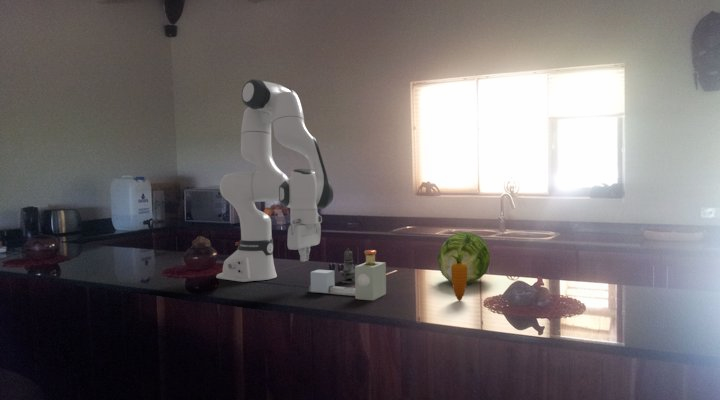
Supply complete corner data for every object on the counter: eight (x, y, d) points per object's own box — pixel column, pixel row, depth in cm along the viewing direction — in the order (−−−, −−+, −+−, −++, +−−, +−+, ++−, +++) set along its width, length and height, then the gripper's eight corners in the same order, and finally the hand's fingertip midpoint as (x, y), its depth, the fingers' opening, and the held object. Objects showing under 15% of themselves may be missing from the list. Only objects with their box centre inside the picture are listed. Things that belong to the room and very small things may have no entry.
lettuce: (425, 288, 197) (432, 240, 193) (442, 266, 218) (449, 222, 214) (477, 302, 191) (486, 252, 187) (490, 278, 213) (498, 232, 208)
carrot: (464, 303, 174) (463, 252, 173) (448, 301, 176) (448, 251, 176) (470, 300, 178) (470, 250, 177) (454, 298, 181) (454, 249, 180)
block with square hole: (354, 299, 181) (354, 266, 181) (368, 292, 191) (368, 261, 190) (372, 300, 179) (372, 267, 178) (386, 293, 188) (385, 262, 188)
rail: (308, 291, 193) (308, 285, 193) (312, 290, 195) (312, 284, 195) (360, 296, 185) (360, 290, 185) (363, 294, 187) (363, 288, 187)
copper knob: (362, 269, 184) (362, 251, 183) (367, 267, 187) (367, 249, 187) (373, 270, 182) (373, 252, 182) (378, 268, 185) (378, 250, 185)
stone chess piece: (355, 283, 206) (354, 249, 205) (338, 283, 207) (338, 248, 206) (358, 280, 212) (358, 246, 211) (342, 279, 213) (341, 246, 212)
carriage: (310, 291, 191) (310, 272, 191) (318, 288, 196) (318, 269, 195) (327, 292, 189) (327, 273, 188) (334, 289, 193) (334, 270, 193)
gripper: (300, 220, 183) (301, 265, 183) (323, 217, 202) (324, 257, 203) (281, 220, 185) (282, 264, 185) (306, 217, 204) (306, 257, 204)
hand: (304, 261), depth 194 cm, fingers closed
